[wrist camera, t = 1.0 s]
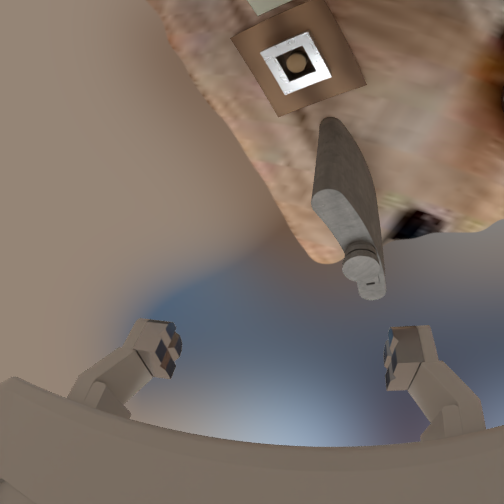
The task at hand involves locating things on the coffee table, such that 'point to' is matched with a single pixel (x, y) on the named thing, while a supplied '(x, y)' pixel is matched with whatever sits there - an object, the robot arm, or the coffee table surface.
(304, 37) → the collar
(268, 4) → the pad
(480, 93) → the coffee table surface
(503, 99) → the food container
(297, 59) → the peg stand
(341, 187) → the hip flask
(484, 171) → the coffee table surface
